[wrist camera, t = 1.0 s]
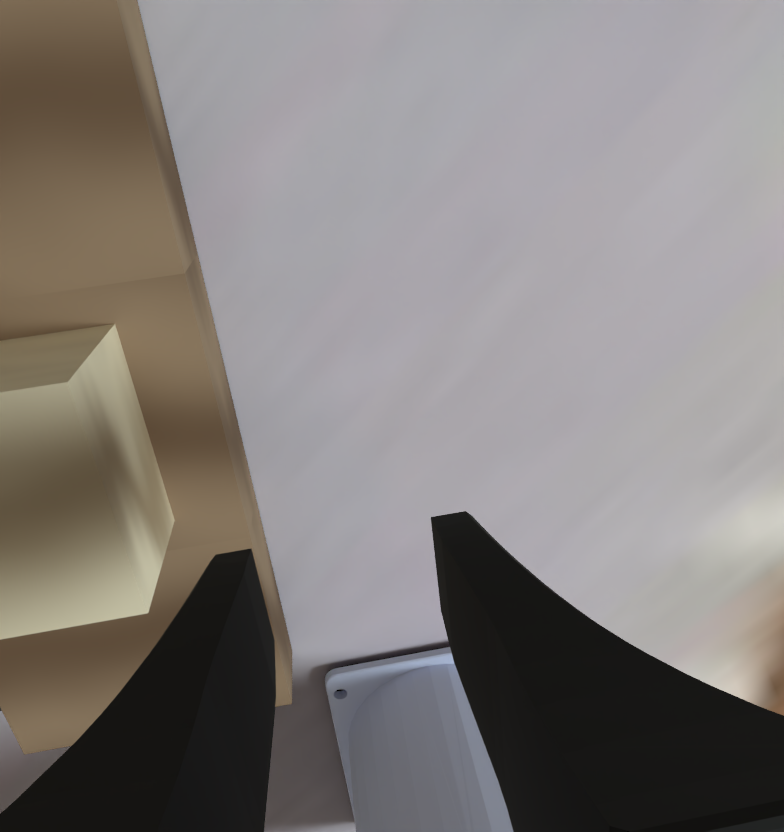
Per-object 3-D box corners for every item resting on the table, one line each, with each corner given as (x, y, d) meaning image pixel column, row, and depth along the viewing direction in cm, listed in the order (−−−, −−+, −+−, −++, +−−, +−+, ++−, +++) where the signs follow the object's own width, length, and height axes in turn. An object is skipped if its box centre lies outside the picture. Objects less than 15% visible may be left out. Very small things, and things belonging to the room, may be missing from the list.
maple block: (174, 520, 20) (148, 613, 16) (-38, 556, 19) (-113, 659, 16) (114, 324, 17) (67, 382, 14) (-131, 360, 17) (-247, 430, 13)
